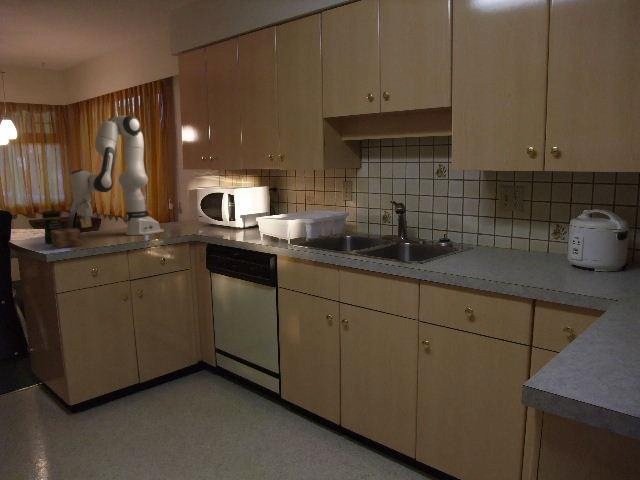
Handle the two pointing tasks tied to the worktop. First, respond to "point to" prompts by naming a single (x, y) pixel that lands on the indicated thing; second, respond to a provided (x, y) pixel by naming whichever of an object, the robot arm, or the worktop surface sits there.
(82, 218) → the token
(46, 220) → the coffee jar
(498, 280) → the worktop surface
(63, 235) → the tip box
